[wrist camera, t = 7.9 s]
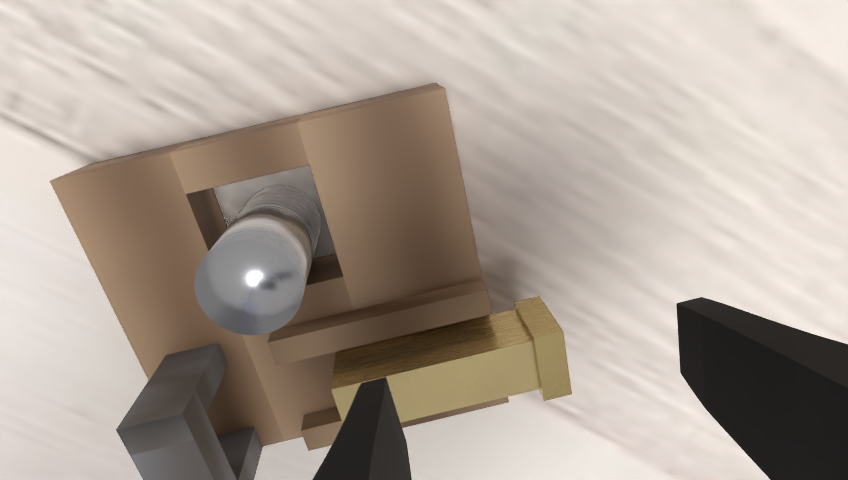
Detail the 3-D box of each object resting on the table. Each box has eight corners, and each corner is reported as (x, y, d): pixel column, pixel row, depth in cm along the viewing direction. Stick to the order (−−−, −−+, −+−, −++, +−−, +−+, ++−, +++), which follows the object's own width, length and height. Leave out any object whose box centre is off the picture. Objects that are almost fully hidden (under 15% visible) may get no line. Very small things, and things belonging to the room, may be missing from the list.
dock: (208, 422, 23) (150, 554, 17) (89, 164, 19) (-44, 220, 13) (490, 353, 23) (531, 461, 17) (435, 83, 19) (466, 100, 13)
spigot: (269, 269, 21) (232, 350, 15) (227, 206, 20) (171, 269, 14) (335, 237, 21) (321, 308, 15) (296, 171, 20) (267, 222, 14)
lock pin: (351, 400, 20) (348, 448, 18) (333, 345, 20) (327, 387, 17) (548, 353, 21) (571, 394, 18) (539, 296, 20) (563, 331, 17)
